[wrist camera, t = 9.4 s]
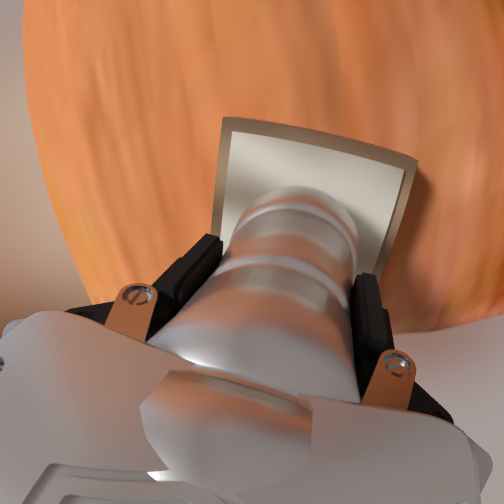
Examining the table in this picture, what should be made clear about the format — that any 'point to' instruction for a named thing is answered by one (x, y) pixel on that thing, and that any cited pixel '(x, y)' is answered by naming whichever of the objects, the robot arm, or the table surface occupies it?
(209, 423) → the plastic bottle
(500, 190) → the table surface
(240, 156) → the plinth
